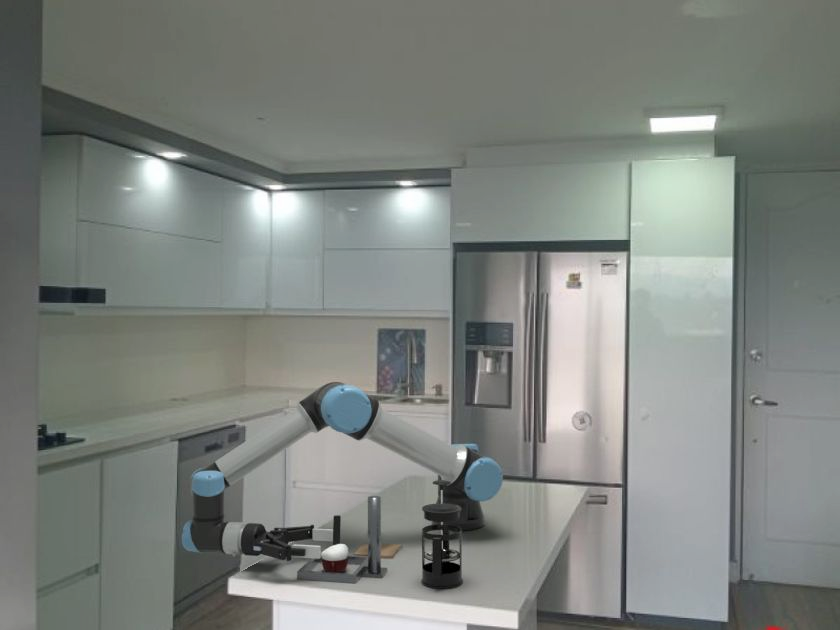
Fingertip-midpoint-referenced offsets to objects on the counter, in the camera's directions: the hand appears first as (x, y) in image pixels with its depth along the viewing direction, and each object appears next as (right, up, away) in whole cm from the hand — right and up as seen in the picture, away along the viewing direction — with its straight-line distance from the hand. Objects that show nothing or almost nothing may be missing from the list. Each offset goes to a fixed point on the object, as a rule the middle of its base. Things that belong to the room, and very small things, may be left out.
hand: (329, 543), depth 187 cm
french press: (+26, -7, -8) cm, 28 cm away
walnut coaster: (+11, -7, +16) cm, 20 cm away
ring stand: (+4, -7, 0) cm, 8 cm away
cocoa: (+1, -7, 0) cm, 7 cm away
